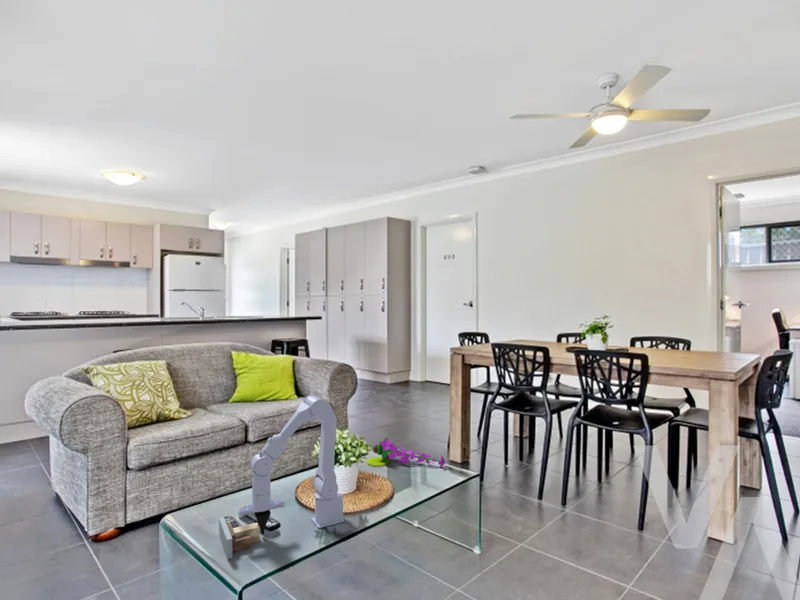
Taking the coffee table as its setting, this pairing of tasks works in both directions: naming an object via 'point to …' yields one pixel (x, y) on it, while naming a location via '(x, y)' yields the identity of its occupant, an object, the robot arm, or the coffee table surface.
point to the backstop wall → (225, 538)
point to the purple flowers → (402, 453)
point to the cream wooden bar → (248, 532)
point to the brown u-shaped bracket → (238, 540)
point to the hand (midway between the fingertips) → (262, 533)
